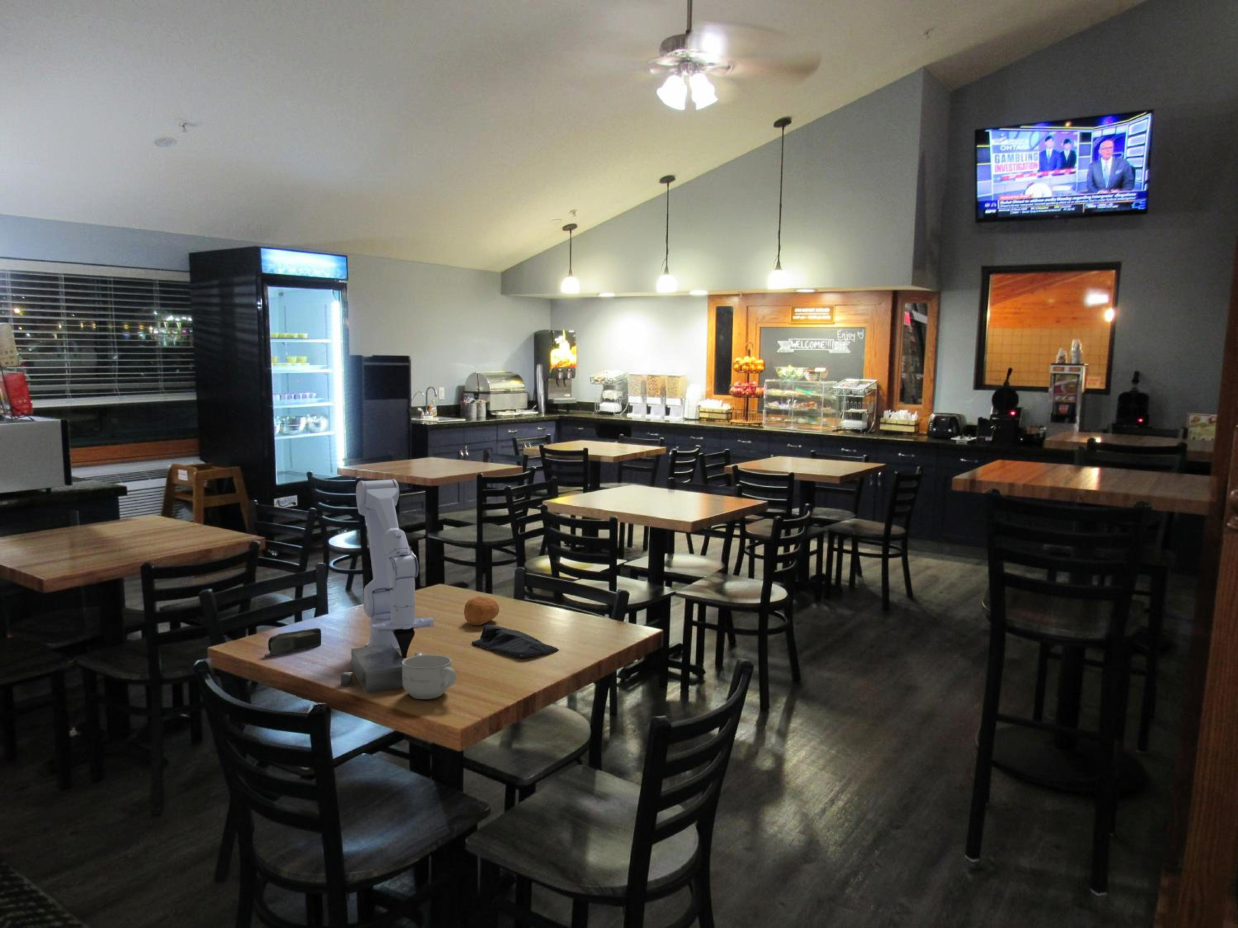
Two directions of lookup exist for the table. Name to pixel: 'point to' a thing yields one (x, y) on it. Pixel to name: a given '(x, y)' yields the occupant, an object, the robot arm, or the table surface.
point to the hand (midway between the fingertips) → (403, 658)
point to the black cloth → (512, 642)
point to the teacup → (427, 675)
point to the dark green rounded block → (294, 641)
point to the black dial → (346, 678)
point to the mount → (377, 667)
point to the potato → (480, 610)
